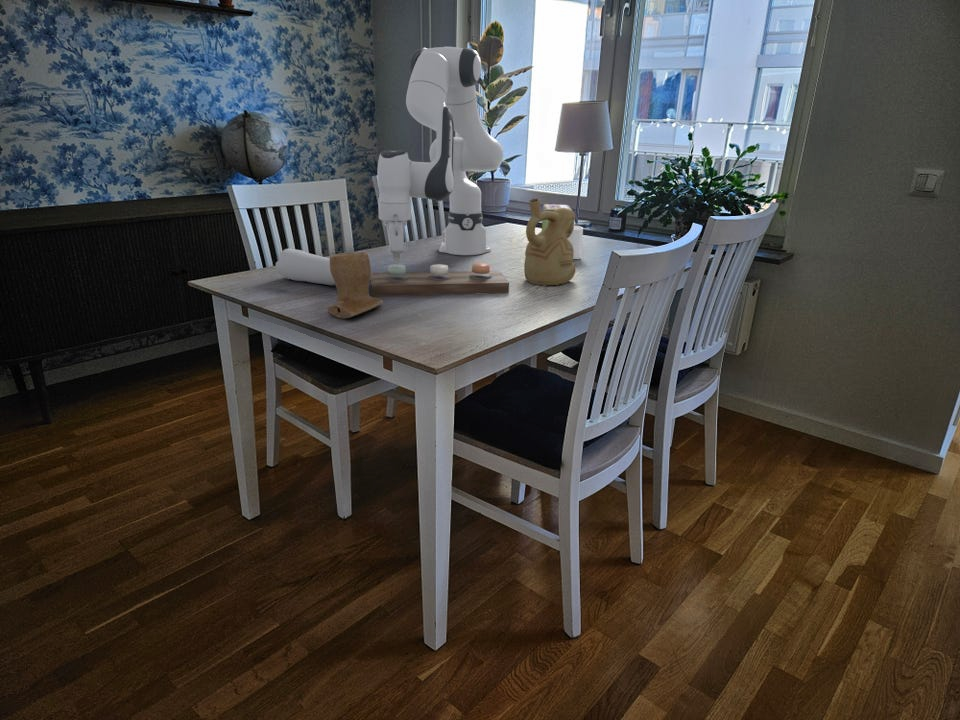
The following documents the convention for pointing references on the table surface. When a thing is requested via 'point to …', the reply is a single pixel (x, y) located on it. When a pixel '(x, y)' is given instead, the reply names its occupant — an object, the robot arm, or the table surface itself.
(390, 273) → the button sage
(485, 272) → the button terracotta
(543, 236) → the ceramic vessel
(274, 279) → the table surface
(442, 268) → the button cream
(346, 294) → the stone cup
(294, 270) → the bottle
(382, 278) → the button panel
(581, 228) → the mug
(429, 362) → the table surface
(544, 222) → the tea box
